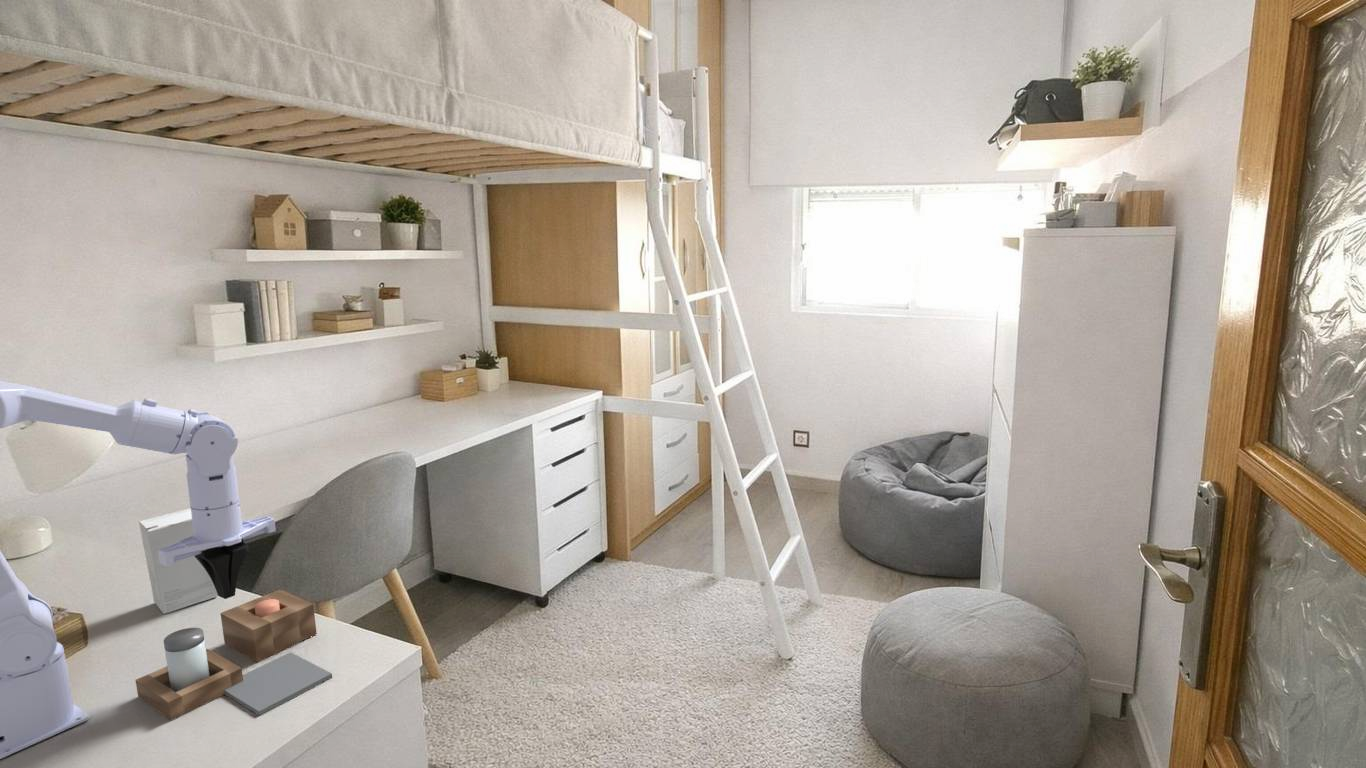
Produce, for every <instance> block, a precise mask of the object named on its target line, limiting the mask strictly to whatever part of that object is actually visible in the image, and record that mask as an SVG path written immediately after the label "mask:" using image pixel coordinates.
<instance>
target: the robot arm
mask: <svg viewBox="0 0 1366 768" xmlns="http://www.w3.org/2000/svg"><path fill="white" fill-rule="evenodd" d="M25 421H37V422H43V423H49V424H56V425H63V426H68V427H74V428H82V429H88V430H95V431H101V432H106V433H109V434H110V436H111V437H112V438H113V440H114V441H115V443H116V444H117V445H121V446H125V447H131V448H137V449H141V450H142V449H143V450H146V451H147V450H148V451H153V452H159V453H164V454H170V455H179V454H186V455H185V460H186V467H187V472H186V481H187V488H188V497H189V503H190V504H189V505H190V506H189V507H190V508H191V514H192V522H193V530H194V535H192V536H190V537H188V538H185V539H183V540H181V541H179V542H177V543H174V544H172V545H170V546H167V547H165V548H162V549H159V550H158V557H159V563H160V564H162V565H164V566H166V567H168V566H171V565H174V564H175V562H177V561H180V560H183V559H186V558H189V557H192V556H194V557H195V558H196V559H197V560H198V561H199V562H200V563H201V565H202V566H203V567H204V569H205V570H206V571H207V573H208V575H209V576H210V578H211V580H212V582H213V584H214V586H215V589H216V591H217V594H218V596H217V597H220V598H222V599H224V600H227V599H229V598H232V597H235V596H236V590H237V585H238V584H237V583H238V580H239V575H240V572H241V568H242V566H243V563H244V561H245V558H246V556H247V555H248V554H249V551H250V550H249V544H247V543H245V542H244V540H247V539H250V538H254V537H256V536H260V535H262V534H265V533H267V534H271V533H273V532H276V530H277V529H276V522H275V520H276V519H275V518H273V517H271V516H269V515H268V516H267V515H265V516H262V517H259V518H258V517H257V518H253V519H249V520H245V521H243V519H242V510H241V503H240V493H239V486H238V485H239V483H238V476H237V475H238V474H237V468H236V466H235V462H234V460H235V456H234V453H236V451H237V447H238V443H239V440H238V438H236V434H235V432H234V431H233V429H232V428H231V426H230V425H228V424H227V423H226V422H225V421H224V420H223V419H221V418H220V417H217V416H216V415H212V414H210V413H208V412H202V411H201V412H199V411H198V409H197V410H196V409H192V408H189V409H188V410H187V411H184V410H181V409H180V410H179V409H175V408H171V407H166V406H163V405H161V406H160V405H158V402H157V400H156V399H153V398H147V397H145V398H144V399H143V401H138V400H130V401H128V402H125V403H124V404H122V405H118V406H114V405H108V404H105V403H100V402H97V401H93V400H88V399H84V398H80V397H79V398H78V397H75V396H71V395H67V394H63V393H59V392H54V391H52V390H51V391H50V390H46V389H42V388H38V387H34V386H30V385H24V384H22V383H21V384H20V383H14V382H9V381H4V380H0V429H4V428H7V427H9V426H13V425H16V424H20V423H22V422H25ZM53 614H54V613H53V610H52V607H51V606H50V604H48V602H46V601H45V600H43V599H42V598H39V597H36V596H35V595H33V593H31V592H30V591H29V589H28V587H27V585H25V583H24V582H22V581H21V580H20V579H19V578H18V577H17V576H16V573H15V572H14V570H13V569H12V567H11V566H10V564H9V563H8V560H7V559H6V558H5V556H4V555H3V553H2V551H1V550H0V760H1V759H4V758H6V757H8V756H10V755H13V754H14V753H16V752H20V751H22V750H24V749H26V748H28V747H30V746H32V745H33V746H34V744H37V743H39V742H41V741H44V740H46V739H48V738H50V737H53V736H55V735H56V734H57V735H58V734H60V733H61V732H64V731H66V730H68V729H70V728H73V727H75V726H78V725H80V724H82V723H84V722H86V721H88V720H89V717H90V716H89V714H88V713H86V712H85V711H84V710H83V709H81V708H80V707H79V706H77V705H76V704H75V703H74V700H73V694H72V688H71V683H70V677H69V671H68V666H67V661H66V655H65V650H64V646H63V644H61V642H59V641H58V637H57V634H56V632H55V630H54V624H53V619H54V615H53Z"/></svg>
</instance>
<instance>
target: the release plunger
mask: <svg viewBox="0 0 1366 768" xmlns="http://www.w3.org/2000/svg"><path fill="white" fill-rule="evenodd" d="M279 610H280V606H279V601H278V600H276V599H269V600H264V601H261V602H259V603H257V604H256V605H255V614H256V615H257V616H259V617H261V618H262V617H264V616H267V615H269V614H272V613H274V612H276V611H279Z"/></svg>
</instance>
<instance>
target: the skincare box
mask: <svg viewBox="0 0 1366 768" xmlns="http://www.w3.org/2000/svg"><path fill="white" fill-rule="evenodd" d="M139 529H140V534H141V540H142V546H143V549H144V554H145V561H146V566H147V570H148V571H147V572H148V575H149V576H148V577H149V582H150V587H151V592H152V597H153V602H154V603H155V605H156V606H157V608H158V609H159V610H160V611H161V612H162V614H163V615H165V614H166V615H167V614H169V613H172V612H175V611H178V610H180V609H183V608H186V607H190V606H193V605H195V604H199V603H201V602H205V601H207V600H211V599H213V598H217V597H219V596H218V594H217V591H216V589H215V586H214V584H213V582H212V580H211V578H210V576H209V575H208V573H207V571H206V570H205V569H204V567H203V566H202V565H201V563H200V562H199V561H198V560H197V559H196V558H195V557H194V556H192V557H189V558H186V559H183V560H180V561H177V562H175V564H174V565H171V566H168V567H166V566H164V565H162V564H160V563H159V557H158V550H159V549H162V548H165V547H167V546H170V545H172V544H174V543H177V542H179V541H181V540H183V539H185V538H188V537H190V536H192V535H194V530H193V522H192V514H191V507H190V508H185V509H182V510H178V511H174V512H172V513H170V512H169V513H167V514H163V515H160V516H156V517H152V518H148V519H144V520H139Z"/></svg>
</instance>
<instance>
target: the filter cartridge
mask: <svg viewBox="0 0 1366 768" xmlns="http://www.w3.org/2000/svg"><path fill="white" fill-rule="evenodd" d="M163 646H164V652H165V659H166V666H167V667H168V673H169V680H170V686H171V688H170V689H171V690H173V691H174V692H177V691H180V690H182V689H184V688H186V687H188V686H191V685H193V684H195V683H197V682H199V681H201V680H204V679H206V678H208V677H210V675H209V668H208V661H207V654H206V649H207V648H206V642H205V634H204V630H203V629H202V628H199V627H188V628H182V629H178V630H175V631H173V632H171V633H170V634H168V635H166V636H165V637H164V639H163Z"/></svg>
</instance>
